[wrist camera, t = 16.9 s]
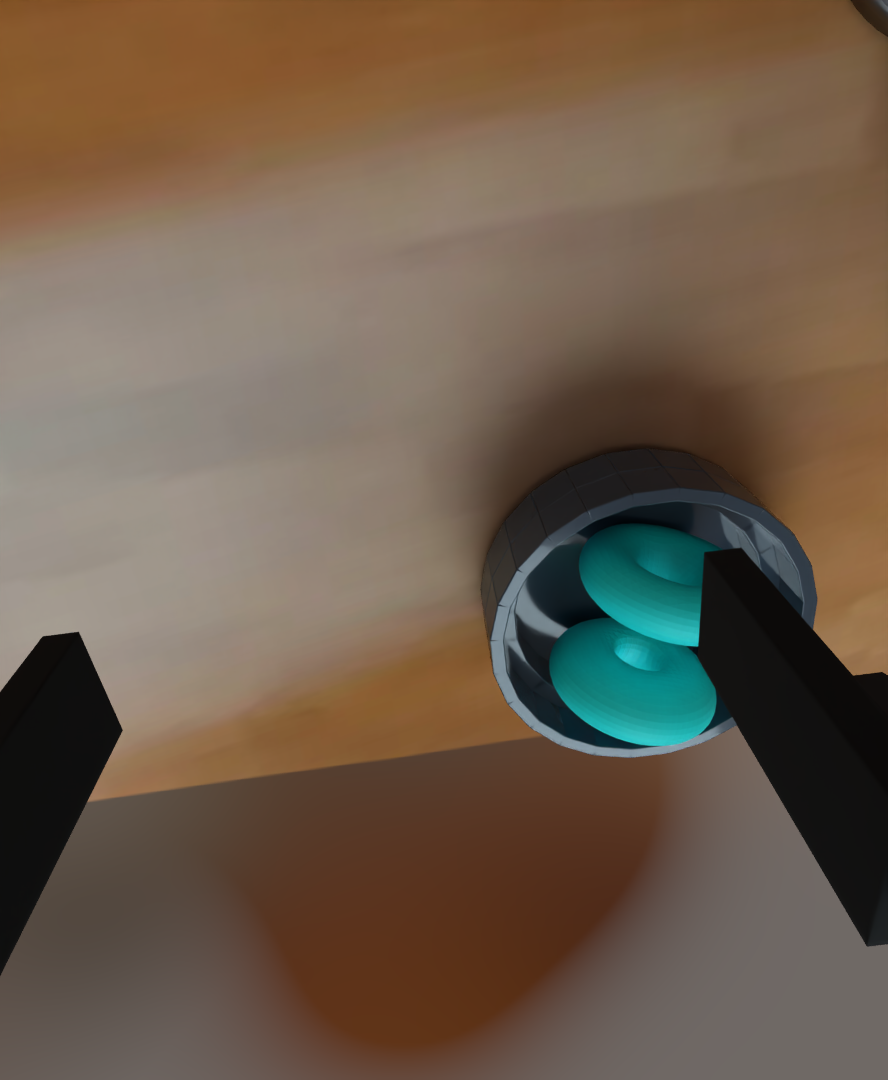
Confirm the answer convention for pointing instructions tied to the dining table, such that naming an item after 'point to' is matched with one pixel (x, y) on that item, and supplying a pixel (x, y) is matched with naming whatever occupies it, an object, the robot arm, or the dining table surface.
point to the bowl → (559, 594)
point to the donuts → (638, 638)
